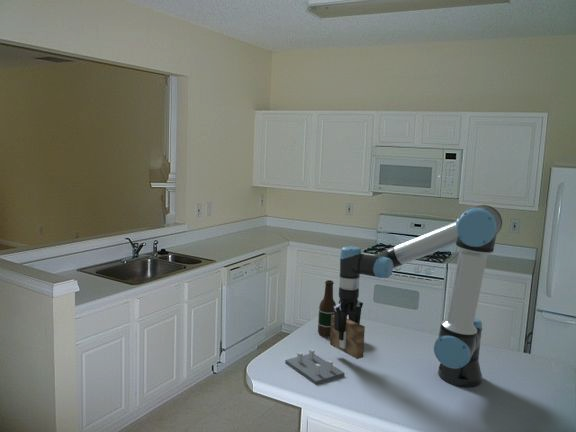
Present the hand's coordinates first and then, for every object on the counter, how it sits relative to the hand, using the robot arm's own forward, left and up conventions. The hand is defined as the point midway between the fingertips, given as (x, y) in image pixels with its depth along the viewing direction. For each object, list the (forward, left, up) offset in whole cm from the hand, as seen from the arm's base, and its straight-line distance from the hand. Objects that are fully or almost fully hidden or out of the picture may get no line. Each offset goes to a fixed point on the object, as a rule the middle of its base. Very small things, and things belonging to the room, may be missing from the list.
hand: (346, 346), depth 188 cm
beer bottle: (+25, -11, -6) cm, 28 cm away
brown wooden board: (0, 0, -2) cm, 2 cm away
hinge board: (0, +15, -6) cm, 16 cm away
